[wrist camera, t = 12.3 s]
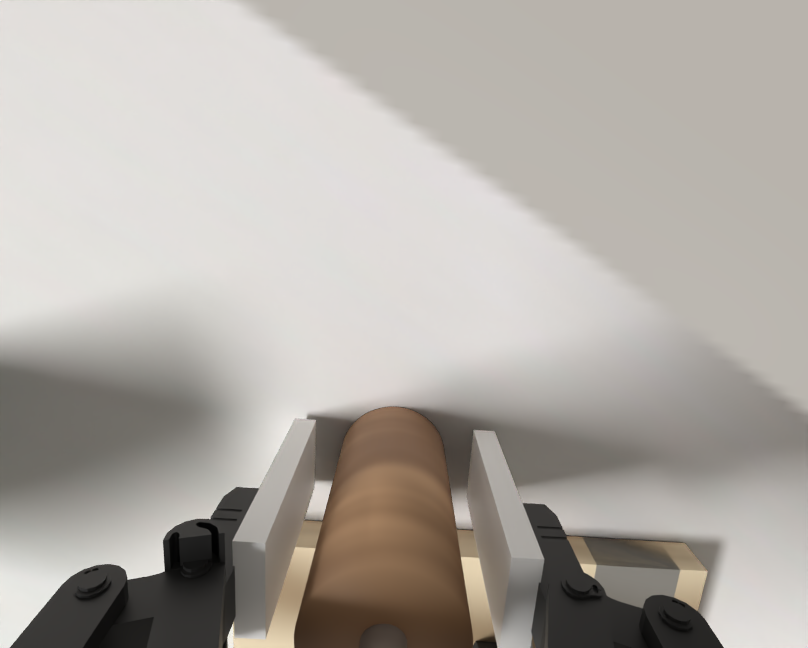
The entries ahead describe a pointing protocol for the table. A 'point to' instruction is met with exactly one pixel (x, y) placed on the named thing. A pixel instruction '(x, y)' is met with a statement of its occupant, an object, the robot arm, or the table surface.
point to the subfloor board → (599, 557)
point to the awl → (387, 544)
